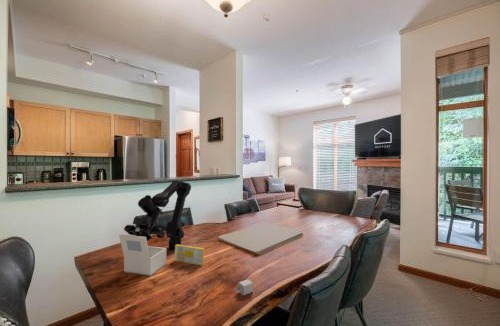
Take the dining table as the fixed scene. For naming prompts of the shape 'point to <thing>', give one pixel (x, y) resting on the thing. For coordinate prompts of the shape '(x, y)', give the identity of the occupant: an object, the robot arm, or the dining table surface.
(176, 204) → the robot arm
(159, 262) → the carton
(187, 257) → the candy box
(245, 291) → the usb wall charger
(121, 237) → the carton flap
